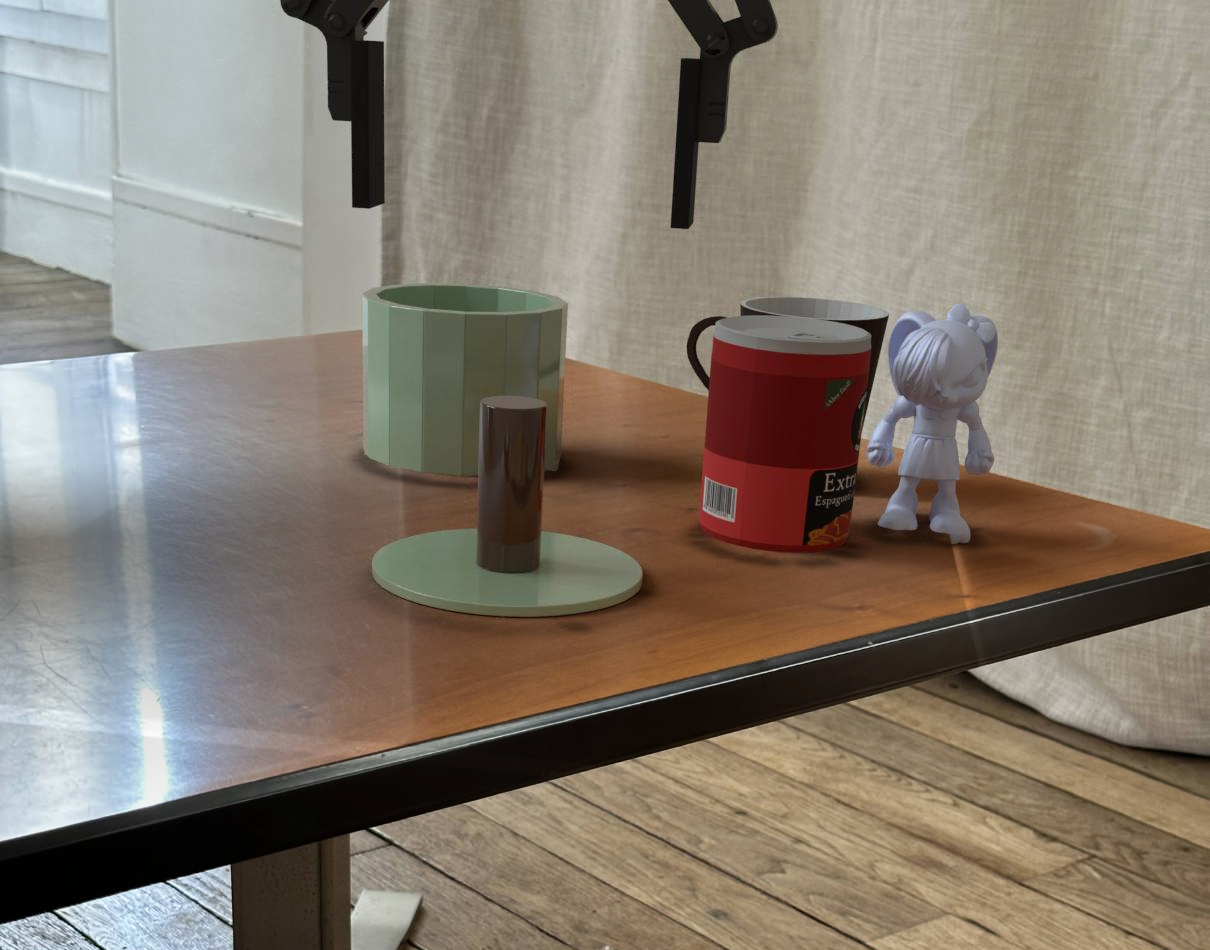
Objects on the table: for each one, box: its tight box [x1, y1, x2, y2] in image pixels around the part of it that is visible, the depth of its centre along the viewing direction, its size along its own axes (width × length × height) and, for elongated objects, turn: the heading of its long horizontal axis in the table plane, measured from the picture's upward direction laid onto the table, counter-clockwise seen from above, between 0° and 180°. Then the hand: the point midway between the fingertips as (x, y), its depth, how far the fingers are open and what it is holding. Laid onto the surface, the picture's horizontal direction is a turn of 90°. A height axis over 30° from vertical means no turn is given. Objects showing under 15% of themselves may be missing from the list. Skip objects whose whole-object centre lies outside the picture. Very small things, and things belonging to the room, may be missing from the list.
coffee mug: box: [686, 296, 890, 431], centre depth 102 cm, size 12×9×10 cm
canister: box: [362, 282, 569, 477], centre depth 101 cm, size 12×12×10 cm
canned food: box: [698, 315, 871, 553], centre depth 88 cm, size 8×8×11 cm
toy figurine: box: [865, 303, 999, 545], centre depth 91 cm, size 7×6×12 cm
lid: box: [371, 396, 644, 618], centre depth 78 cm, size 13×13×9 cm
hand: (523, 216), depth 73 cm, fingers open, 13 cm apart
